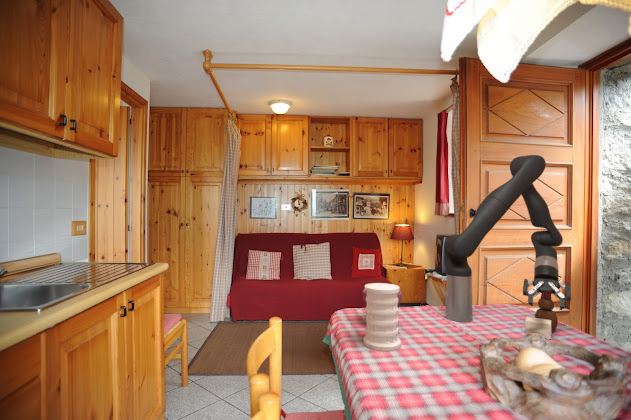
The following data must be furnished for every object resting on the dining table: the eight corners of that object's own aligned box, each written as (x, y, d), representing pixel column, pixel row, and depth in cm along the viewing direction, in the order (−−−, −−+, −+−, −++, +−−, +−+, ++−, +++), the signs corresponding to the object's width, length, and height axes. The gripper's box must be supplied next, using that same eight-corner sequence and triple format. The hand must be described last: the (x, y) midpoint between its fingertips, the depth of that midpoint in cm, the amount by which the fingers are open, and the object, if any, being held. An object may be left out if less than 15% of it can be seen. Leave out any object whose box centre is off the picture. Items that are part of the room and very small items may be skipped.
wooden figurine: (560, 334, 110) (559, 290, 111) (542, 333, 111) (541, 289, 112) (550, 328, 117) (549, 286, 117) (533, 327, 118) (532, 285, 119)
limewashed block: (525, 335, 109) (525, 320, 109) (527, 330, 114) (526, 316, 114) (551, 340, 105) (550, 324, 105) (551, 335, 110) (551, 320, 110)
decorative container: (402, 339, 105) (402, 284, 105) (399, 353, 94) (399, 291, 95) (366, 335, 109) (366, 281, 109) (360, 348, 98) (360, 288, 98)
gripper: (523, 262, 126) (521, 297, 116) (569, 265, 117) (571, 304, 108) (524, 274, 130) (522, 309, 120) (569, 278, 121) (571, 316, 112)
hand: (546, 306), depth 114 cm, fingers open, 8 cm apart
